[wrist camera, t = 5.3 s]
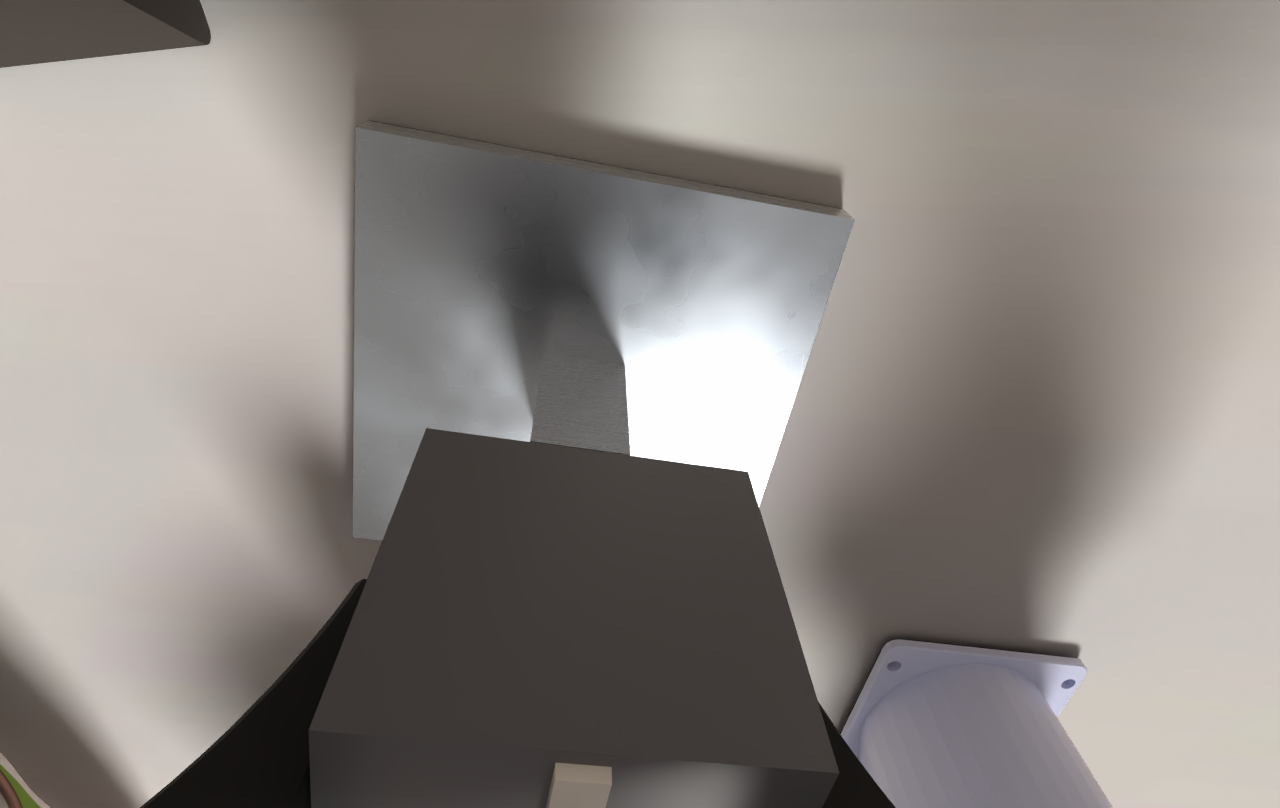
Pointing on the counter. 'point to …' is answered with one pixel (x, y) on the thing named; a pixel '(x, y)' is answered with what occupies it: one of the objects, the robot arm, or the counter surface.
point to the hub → (573, 308)
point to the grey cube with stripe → (570, 643)
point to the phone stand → (96, 28)
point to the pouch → (16, 789)
